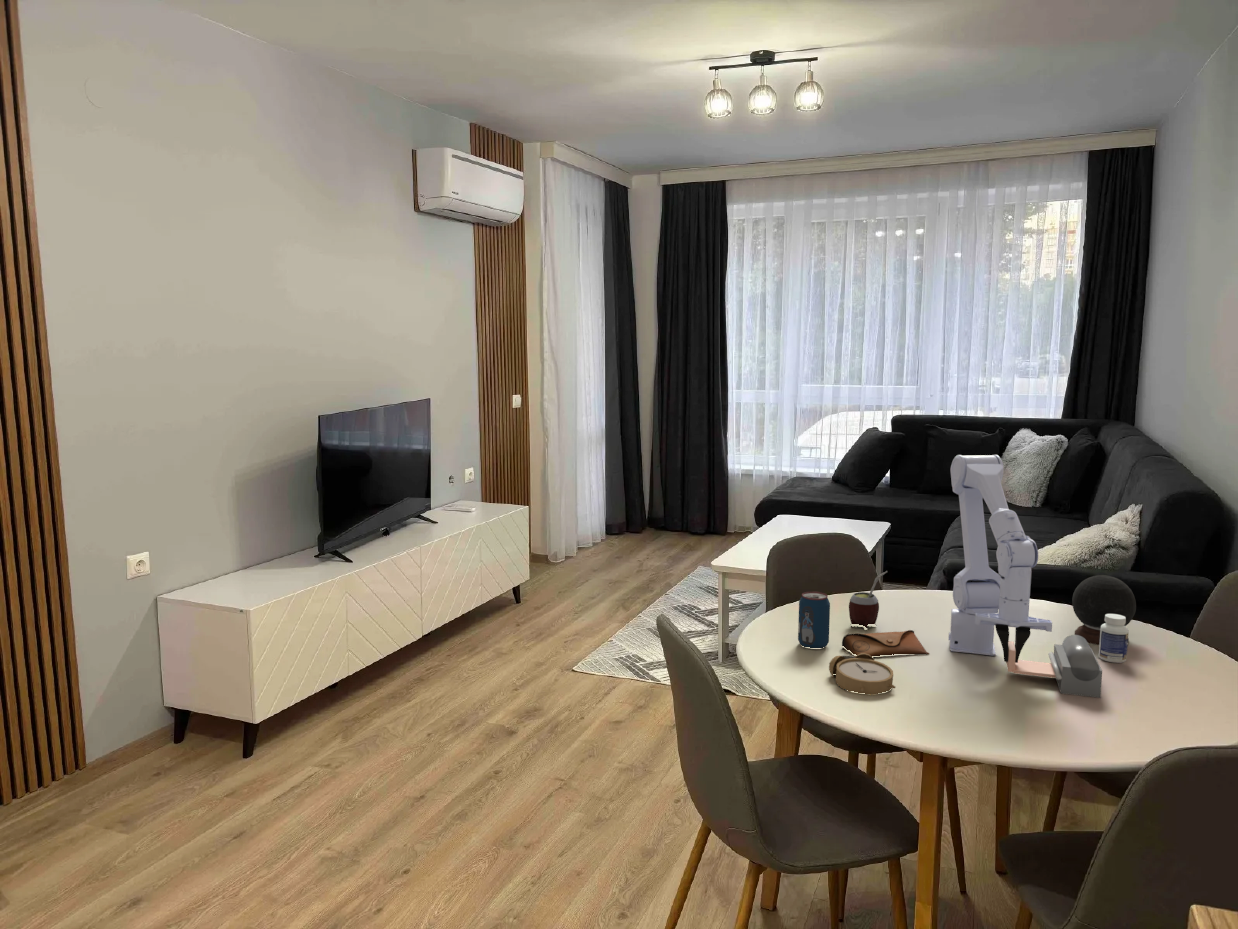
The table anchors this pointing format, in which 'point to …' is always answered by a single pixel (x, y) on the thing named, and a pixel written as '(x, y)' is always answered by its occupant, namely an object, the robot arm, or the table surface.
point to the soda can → (814, 620)
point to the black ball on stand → (1101, 604)
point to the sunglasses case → (884, 643)
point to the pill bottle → (1113, 639)
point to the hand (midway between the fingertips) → (1010, 660)
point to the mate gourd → (864, 606)
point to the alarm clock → (861, 674)
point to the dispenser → (1076, 667)
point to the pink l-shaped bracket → (1027, 665)
